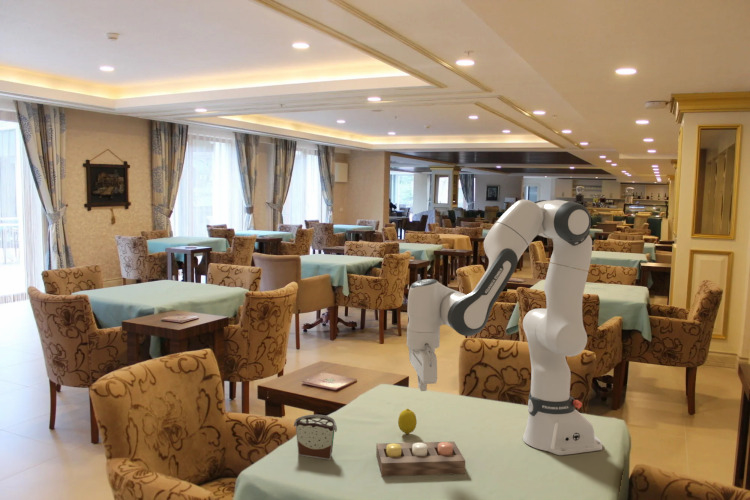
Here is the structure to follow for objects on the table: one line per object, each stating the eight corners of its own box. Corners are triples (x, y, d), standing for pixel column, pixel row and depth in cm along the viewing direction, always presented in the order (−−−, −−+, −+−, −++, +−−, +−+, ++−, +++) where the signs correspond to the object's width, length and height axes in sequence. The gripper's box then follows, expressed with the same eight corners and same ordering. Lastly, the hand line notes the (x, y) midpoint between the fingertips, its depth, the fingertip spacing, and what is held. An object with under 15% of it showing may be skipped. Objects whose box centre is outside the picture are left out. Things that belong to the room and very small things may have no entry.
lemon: (414, 438, 176) (415, 412, 175) (396, 437, 177) (397, 411, 176) (417, 431, 181) (418, 406, 180) (399, 430, 182) (400, 404, 181)
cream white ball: (425, 454, 161) (425, 442, 161) (428, 461, 157) (428, 448, 157) (410, 455, 161) (411, 442, 160) (413, 461, 157) (413, 449, 156)
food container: (342, 451, 166) (343, 416, 165) (335, 460, 160) (335, 424, 159) (301, 445, 169) (302, 411, 168) (293, 454, 164) (293, 419, 163)
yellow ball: (399, 455, 160) (400, 443, 160) (402, 462, 156) (402, 449, 156) (385, 456, 160) (385, 443, 159) (387, 462, 156) (387, 449, 156)
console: (453, 453, 166) (454, 441, 166) (464, 473, 154) (465, 460, 154) (376, 455, 164) (376, 443, 163) (381, 476, 152) (381, 463, 151)
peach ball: (450, 454, 162) (450, 441, 161) (453, 460, 158) (454, 448, 158) (436, 454, 161) (436, 442, 161) (439, 461, 157) (439, 448, 157)
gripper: (443, 349, 149) (442, 402, 151) (426, 330, 169) (426, 377, 171) (419, 350, 148) (418, 403, 150) (405, 331, 169) (404, 378, 170)
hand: (422, 389), depth 160 cm, fingers closed
